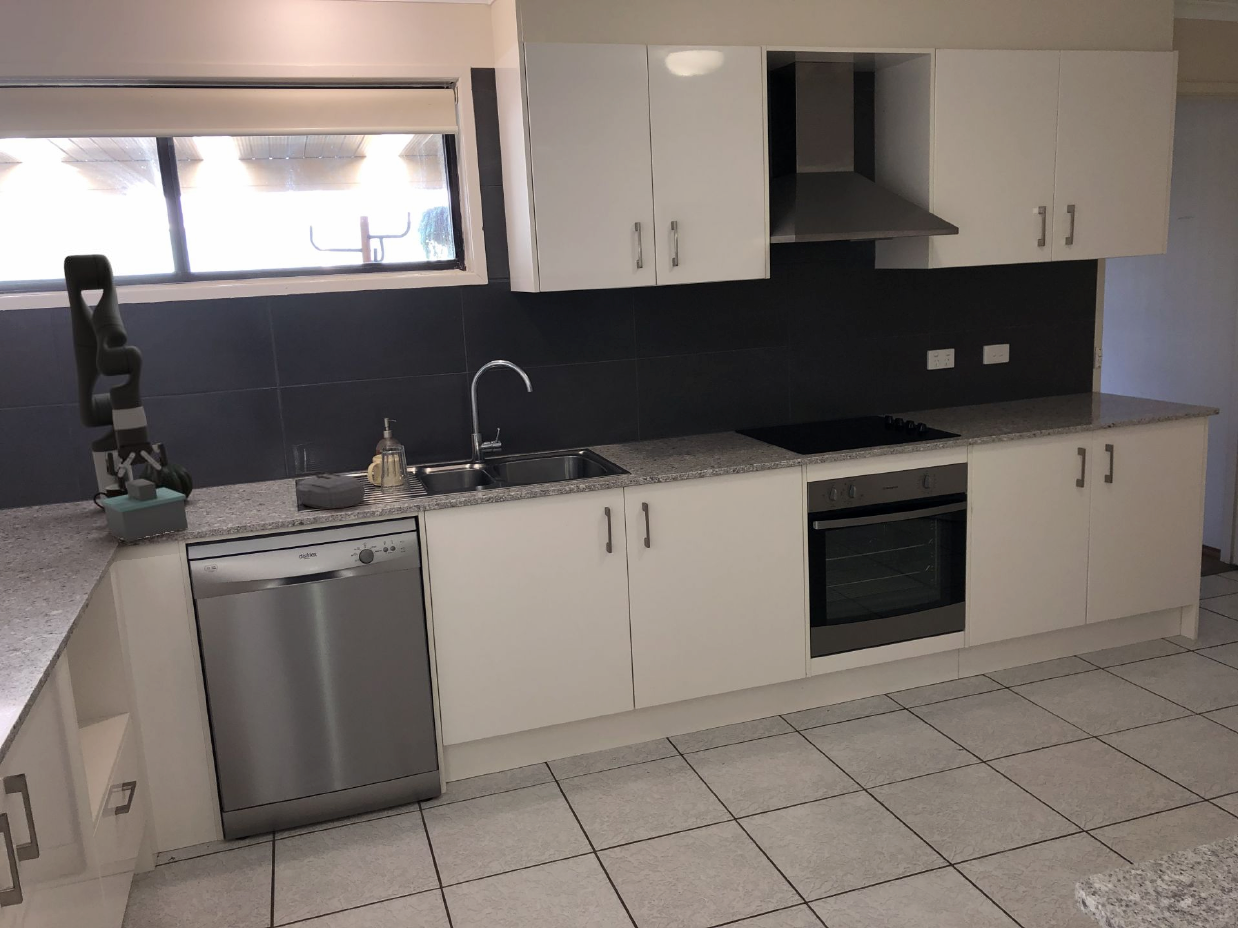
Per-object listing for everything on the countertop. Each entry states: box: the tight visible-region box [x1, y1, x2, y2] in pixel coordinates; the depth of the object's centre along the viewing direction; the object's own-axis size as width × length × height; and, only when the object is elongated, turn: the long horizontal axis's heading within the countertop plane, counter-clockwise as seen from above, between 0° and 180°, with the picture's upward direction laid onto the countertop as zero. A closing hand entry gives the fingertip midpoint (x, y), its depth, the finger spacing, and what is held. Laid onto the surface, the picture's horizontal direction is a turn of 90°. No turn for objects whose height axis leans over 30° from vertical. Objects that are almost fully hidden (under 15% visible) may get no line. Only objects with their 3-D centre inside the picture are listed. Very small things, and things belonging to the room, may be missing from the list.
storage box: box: [104, 500, 189, 543], centre depth 258 cm, size 15×15×8 cm
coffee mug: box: [92, 483, 128, 511], centre depth 271 cm, size 12×9×10 cm
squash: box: [137, 457, 194, 501], centre depth 287 cm, size 14×15×15 cm
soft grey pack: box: [295, 472, 366, 510], centre depth 275 cm, size 15×8×20 cm
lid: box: [100, 478, 187, 512], centre depth 257 cm, size 16×16×6 cm
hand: (141, 487), depth 256 cm, fingers open, 8 cm apart
